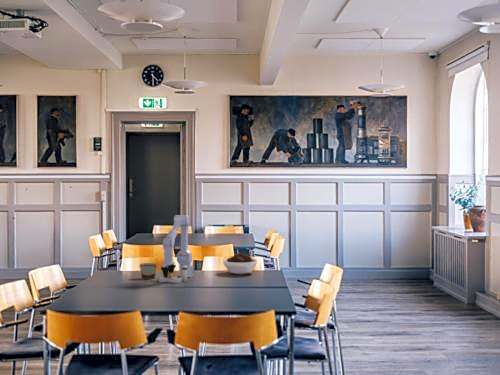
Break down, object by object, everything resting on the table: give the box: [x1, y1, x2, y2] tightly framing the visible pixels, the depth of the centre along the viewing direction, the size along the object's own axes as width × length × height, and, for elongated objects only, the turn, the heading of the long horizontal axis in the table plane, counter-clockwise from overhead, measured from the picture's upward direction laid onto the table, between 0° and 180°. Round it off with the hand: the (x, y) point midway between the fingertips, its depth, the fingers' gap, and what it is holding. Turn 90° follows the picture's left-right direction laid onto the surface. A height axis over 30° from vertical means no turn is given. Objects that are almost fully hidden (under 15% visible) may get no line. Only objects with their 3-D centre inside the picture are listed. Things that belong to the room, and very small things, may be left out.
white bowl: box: [222, 252, 258, 275], centre depth 431 cm, size 25×25×15 cm
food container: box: [139, 262, 158, 280], centre depth 409 cm, size 12×6×10 cm, turn 84°
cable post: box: [182, 266, 188, 282], centre depth 398 cm, size 3×3×10 cm
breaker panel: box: [158, 275, 184, 284], centre depth 395 cm, size 7×14×4 cm, turn 72°
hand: (168, 276), depth 391 cm, fingers open, 7 cm apart
